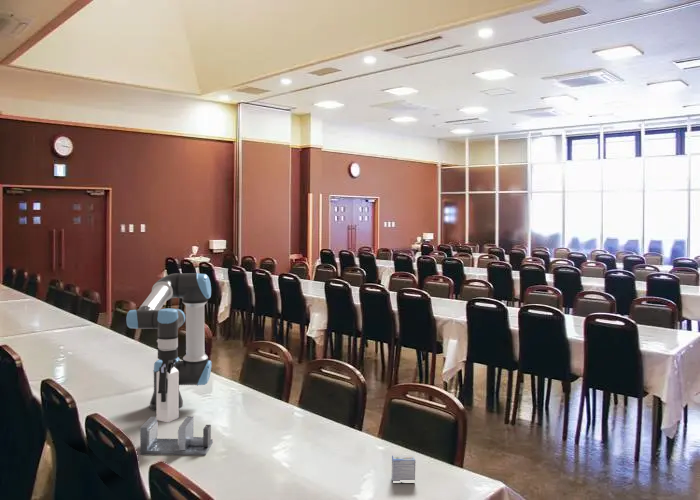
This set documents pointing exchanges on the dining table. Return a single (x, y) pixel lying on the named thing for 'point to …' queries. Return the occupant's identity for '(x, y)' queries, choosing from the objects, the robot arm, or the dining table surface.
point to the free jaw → (187, 435)
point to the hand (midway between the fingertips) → (167, 405)
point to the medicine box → (403, 467)
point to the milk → (169, 397)
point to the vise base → (164, 442)
